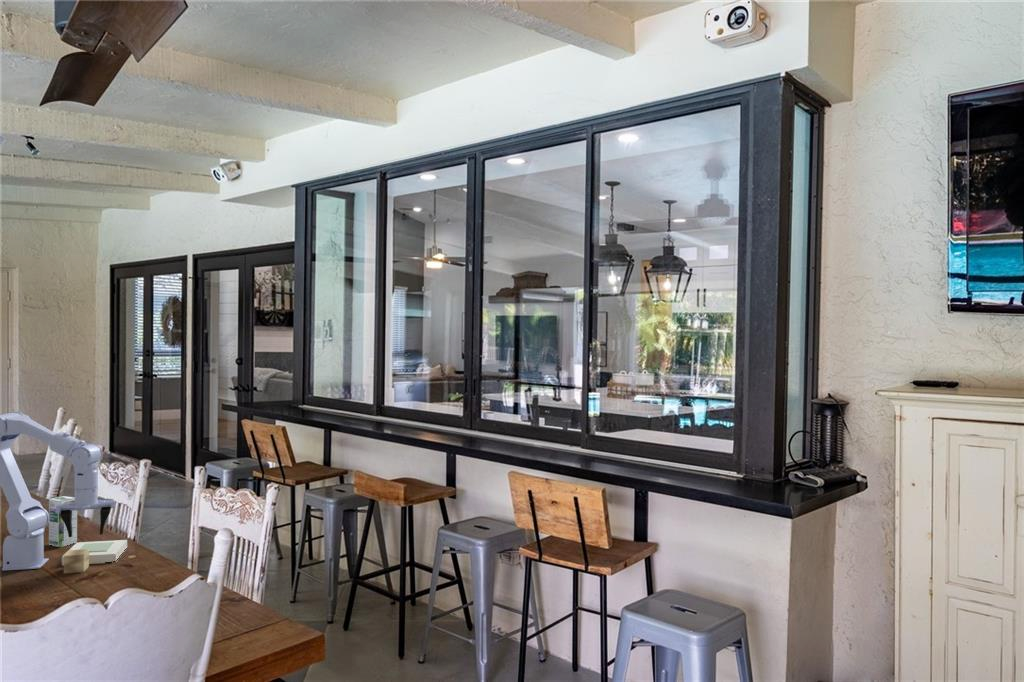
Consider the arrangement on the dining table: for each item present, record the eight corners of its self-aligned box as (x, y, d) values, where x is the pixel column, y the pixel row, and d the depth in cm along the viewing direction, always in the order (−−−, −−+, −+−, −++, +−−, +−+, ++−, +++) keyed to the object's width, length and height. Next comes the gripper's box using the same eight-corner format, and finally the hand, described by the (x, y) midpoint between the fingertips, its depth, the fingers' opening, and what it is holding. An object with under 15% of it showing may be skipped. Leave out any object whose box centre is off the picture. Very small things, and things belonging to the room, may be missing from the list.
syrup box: (47, 545, 235) (47, 499, 234) (65, 540, 240) (65, 495, 240) (60, 548, 233) (60, 501, 232) (78, 542, 238) (78, 496, 237)
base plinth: (61, 565, 217) (61, 555, 216) (76, 550, 230) (76, 541, 230) (115, 562, 220) (115, 552, 220) (127, 547, 234) (127, 538, 234)
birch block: (63, 573, 210) (63, 555, 210) (69, 567, 215) (69, 550, 215) (83, 572, 212) (83, 554, 212) (88, 566, 217) (88, 549, 216)
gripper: (54, 492, 208) (54, 541, 208) (114, 488, 214) (114, 536, 214) (57, 486, 214) (57, 534, 214) (115, 483, 220) (115, 529, 221)
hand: (86, 534), depth 215 cm, fingers open, 7 cm apart
